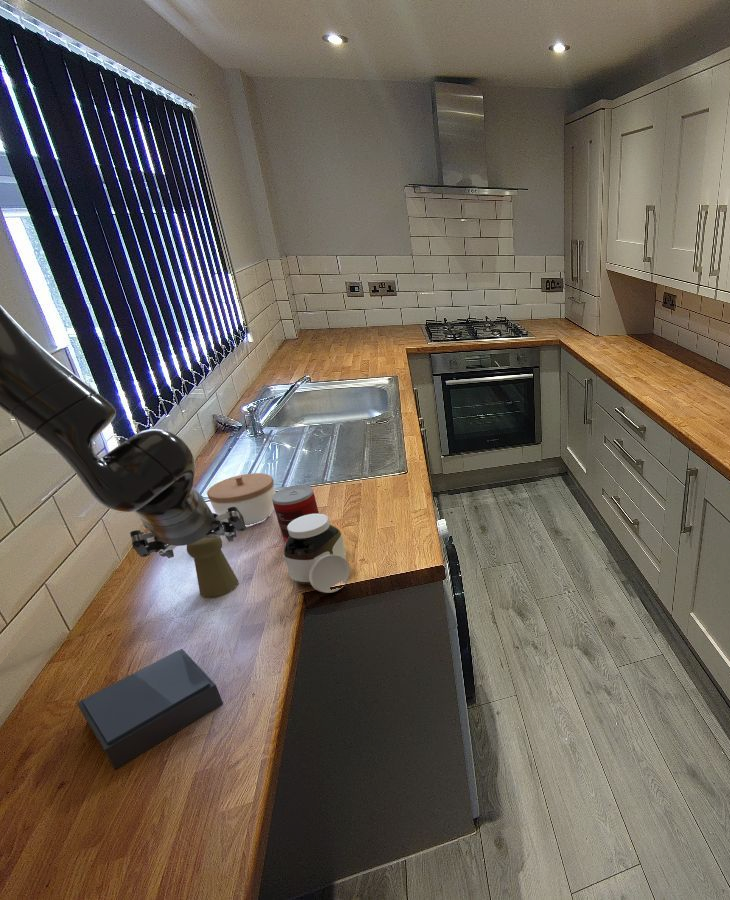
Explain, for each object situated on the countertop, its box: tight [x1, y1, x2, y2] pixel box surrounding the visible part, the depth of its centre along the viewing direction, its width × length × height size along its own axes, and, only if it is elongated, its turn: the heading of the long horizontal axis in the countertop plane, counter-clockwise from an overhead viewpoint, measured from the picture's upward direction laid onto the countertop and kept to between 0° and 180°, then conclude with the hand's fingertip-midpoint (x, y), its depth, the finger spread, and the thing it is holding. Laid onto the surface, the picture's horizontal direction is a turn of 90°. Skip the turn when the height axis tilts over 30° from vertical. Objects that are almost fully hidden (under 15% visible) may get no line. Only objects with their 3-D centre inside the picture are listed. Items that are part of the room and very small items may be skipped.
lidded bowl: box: [206, 472, 277, 525], centre depth 119 cm, size 13×13×11 cm
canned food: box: [272, 484, 320, 544], centre depth 112 cm, size 8×8×11 cm
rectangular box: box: [76, 648, 224, 771], centre depth 72 cm, size 12×12×4 cm
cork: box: [186, 536, 239, 599], centre depth 96 cm, size 6×6×11 cm
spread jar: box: [283, 513, 351, 594], centre depth 98 cm, size 12×11×12 cm
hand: (201, 544), depth 91 cm, fingers open, 8 cm apart
